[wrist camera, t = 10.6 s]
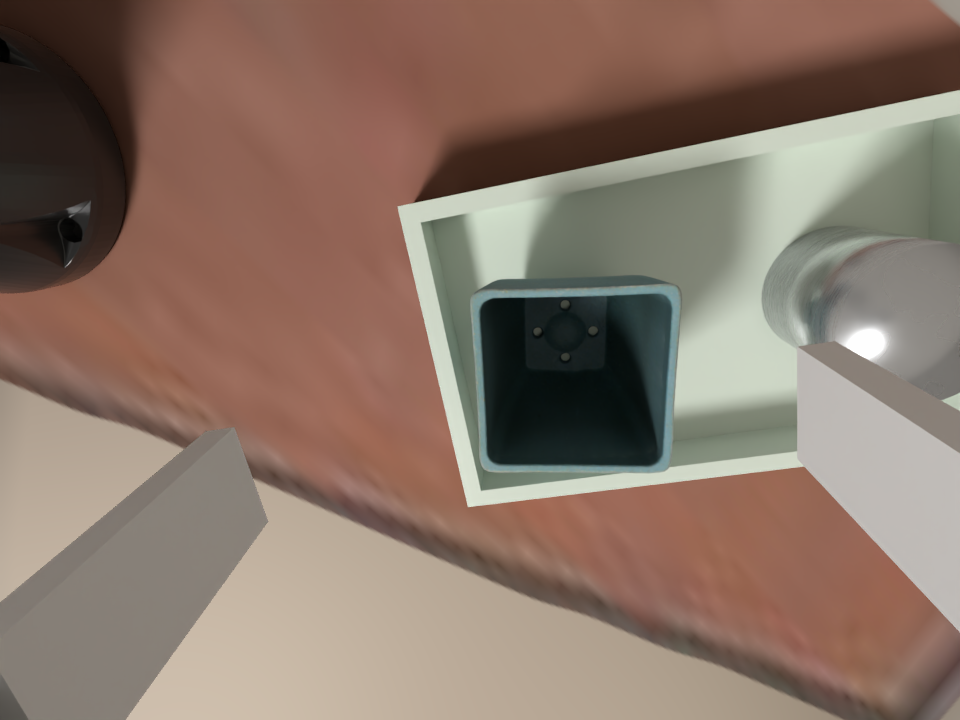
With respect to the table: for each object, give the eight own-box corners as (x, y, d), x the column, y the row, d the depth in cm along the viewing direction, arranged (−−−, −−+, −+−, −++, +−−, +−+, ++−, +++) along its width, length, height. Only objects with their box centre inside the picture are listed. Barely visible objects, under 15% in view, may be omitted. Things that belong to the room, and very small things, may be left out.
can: (764, 359, 32) (835, 416, 25) (758, 239, 30) (834, 261, 22) (894, 339, 31) (1011, 393, 23) (898, 214, 29) (1027, 228, 21)
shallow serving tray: (474, 473, 37) (468, 507, 34) (413, 202, 32) (397, 206, 28) (927, 414, 33) (977, 445, 29) (943, 93, 28) (1007, 80, 24)
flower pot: (492, 401, 34) (479, 474, 26) (485, 259, 32) (468, 290, 23) (636, 399, 34) (671, 474, 25) (642, 253, 31) (684, 282, 22)
